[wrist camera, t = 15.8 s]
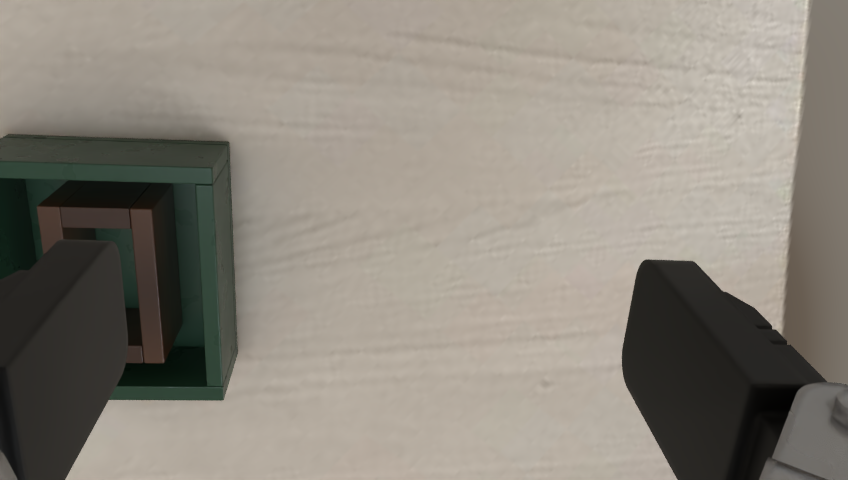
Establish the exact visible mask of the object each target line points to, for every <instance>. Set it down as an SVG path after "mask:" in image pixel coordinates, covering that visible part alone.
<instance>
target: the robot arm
mask: <svg viewBox="0 0 848 480" xmlns="http://www.w3.org/2000/svg"><path fill="white" fill-rule="evenodd" d="M127 351H128V331H127V321H126V311H125V300H124V290H123V280H122V270H121V260H120V254H119V250H118V247H117V245H116V244H115V242H113V241H97V240H67V239H61V240H58V241H57V242H56V243H55V244H54V245H53V246H52V247H51V248H50V249H49V250H48V251H47V252H46V253H45V254H44V255H43V256H42V257H41V258H40V259H39V260H38V261H37V262H36V263H35V264H34V265H33V266H32V267H31V269H30V270H19V271H17V272H15V273H13V274H11V275H9V276H7V277H5V278H3V279H1V280H0V480H65V479H66V477H67V475H68V473H69V471H70V469H71V468H72V466H73V464H74V462H75V460H76V459H77V457H78V455H79V453H80V451H81V449H82V448H83V446H84V444H85V442H86V440H87V438H88V437H89V435H90V433H91V431H92V429H93V427H94V426H95V424H96V422H97V420H98V418H99V416H100V415H101V413H102V411H103V409H104V407H105V406H106V404H107V402H108V400H109V398H110V396H111V395H112V393H113V391H114V389H115V387H116V385H117V384H118V382H119V380H120V378H121V376H122V374H123V371H124V368H125V364H126V359H127ZM622 369H623V376H624V380H625V383H626V386H627V388H628V390H629V392H630V394H631V395H632V397H633V399H634V401H635V403H636V405H637V406H638V408H639V410H640V412H641V414H642V416H643V417H644V419H645V421H646V423H647V425H648V426H649V428H650V430H651V432H652V434H653V436H654V437H655V439H656V441H657V443H658V445H659V447H660V448H661V450H662V452H663V454H664V456H665V458H666V459H667V461H668V463H669V465H670V467H671V468H672V470H673V472H674V474H675V476H676V478H677V479H678V480H848V385H847V384H841V383H831V382H827V381H826V380H825V379H824V378H823V377H822V376H821V375H820V374H819V373H818V372H817V371H816V370H815V369H814V368H813V367H812V366H811V365H810V364H809V363H808V362H807V361H806V360H805V359H804V358H803V357H802V356H801V355H800V354H799V353H798V352H797V351H796V350H795V349H794V348H793V347H792V346H791V345H787V341H786V340H785V339H784V338H783V337H782V336H781V335H780V333H779V332H778V331H777V330H772V325H771V324H770V323H769V322H768V321H767V320H766V319H765V318H764V317H763V316H762V315H761V314H760V313H759V312H758V311H757V310H756V309H755V308H753V307H752V306H750V305H748V304H746V303H745V302H743V301H741V300H739V299H738V298H736V297H734V296H732V295H730V294H729V293H727V292H723V291H722V290H721V289H720V288H719V287H718V286H717V285H716V284H715V283H714V282H713V281H712V280H711V279H710V278H709V276H708V275H707V274H706V273H705V272H704V271H703V270H702V269H701V268H700V267H699V266H698V265H697V264H696V263H695V262H693V261H674V260H644V261H643V262H642V263H641V265H640V267H639V269H638V272H637V275H636V280H635V285H634V290H633V296H632V301H631V306H630V312H629V317H628V322H627V328H626V333H625V338H624V343H623V350H622Z"/></svg>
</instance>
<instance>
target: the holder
mask: <svg viewBox="0 0 848 480" xmlns="http://www.w3.org/2000/svg"><path fill="white" fill-rule="evenodd" d="M68 180H79V181H112V182H145V183H172V186H173V200H174V214H175V228H176V241H177V255H178V269H179V283H180V297H181V311H182V327H181V329H180V331H179V333H178V335H177V337H176V339H175V342H174V344H173V346H172V348H171V350H170V352H169V354H168V356H167V359H166V361H165V363H145V362H143V363H126V364H125V368H124V371H123V374H122V376H121V378H120V380H119V382H118V384H117V385H116V387H115V389H114V391H113V393H112V395H111V396H110V398H109V400H224V397H225V394H226V390H227V387H228V384H229V381H230V377H231V374H232V371H233V368H234V364H235V361H236V357H237V354H238V349H237V324H236V299H235V275H234V250H233V225H232V200H231V176H230V151H229V142H213V141H185V140H156V139H127V138H99V137H70V136H42V135H13V134H8V135H6V136H4V137H3V138H0V280H1V279H3V278H5V277H7V276H9V275H11V274H13V273H15V272H17V271H19V270H30V269H31V267H32V266H33V265H34V264H35V263H36V262H37V261H38V260H39V259H40V258H41V257H42V256H43V249H42V242H41V235H40V228H39V221H38V214H37V206H38V205H39V204H40V203H41V202H43V201H44V200H45V199H46V198H47V197H49V196H50V195H51V194H52V193H53V192H55V191H56V190H57V189H58V188H60V187H61V186H62V185H63V184H64V183H66V182H67V181H68ZM95 236H96V240H97V241H113V242H115V244H116V245H117V247H118V250H119V254H120V260H121V270H122V280H123V290H124V300H125V308H133V309H139V303H138V292H137V282H136V271H135V261H134V250H133V240H132V229H107V228H95Z"/></svg>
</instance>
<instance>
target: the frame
mask: <svg viewBox="0 0 848 480" xmlns="http://www.w3.org/2000/svg"><path fill="white" fill-rule="evenodd" d="M37 214H38V221H39V228H40V235H41V242H42V249H43V255H44V254H45V253H46V252H47V251H48V250H49V249H50V248H51V247H52V246H53V245H54V244H55V243H56V242H57V241H58V240H61V239H67V240H96V236H95V228H107V229H132V240H133V250H134V261H135V271H136V282H137V292H138V303H139V309H133V308H125V311H126V321H127V331H128V351H127V359H126V363H143V362H145V363H165V361H166V359H167V356H168V354H169V352H170V350H171V348H172V346H173V344H174V342H175V339H176V337H177V335H178V333H179V331H180V329H181V327H182V311H181V297H180V283H179V269H178V255H177V241H176V228H175V214H174V200H173V186H172V183H145V182H112V181H79V180H68V181H67V182H66V183H64V184H63V185H62V186H61V187H60V188H58V189H57V190H56V191H55V192H53V193H52V194H51V195H50V196H49V197H47V198H46V199H45V200H44V201H43V202H41V203H40V204H39V205H38V206H37Z"/></svg>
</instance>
